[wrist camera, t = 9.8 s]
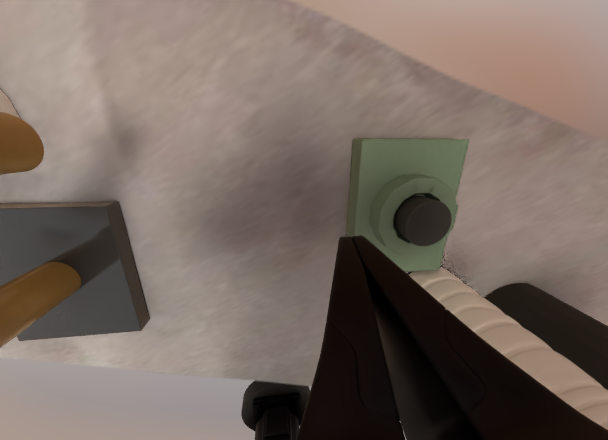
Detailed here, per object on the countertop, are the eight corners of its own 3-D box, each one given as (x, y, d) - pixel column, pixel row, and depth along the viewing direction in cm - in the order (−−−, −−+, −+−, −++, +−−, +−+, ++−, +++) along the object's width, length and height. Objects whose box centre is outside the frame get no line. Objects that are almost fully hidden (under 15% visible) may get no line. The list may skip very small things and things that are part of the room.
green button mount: (425, 259, 24) (453, 280, 20) (343, 263, 23) (357, 287, 19) (449, 140, 20) (489, 139, 16) (352, 139, 19) (372, 137, 15)
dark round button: (431, 236, 19) (446, 245, 17) (391, 238, 19) (402, 247, 17) (440, 195, 18) (457, 200, 16) (397, 196, 17) (410, 201, 16)
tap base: (149, 319, 22) (81, 415, 14) (35, 328, 21) (-108, 438, 13) (118, 201, 18) (1, 244, 11) (-23, 204, 17) (-274, 255, 9)
